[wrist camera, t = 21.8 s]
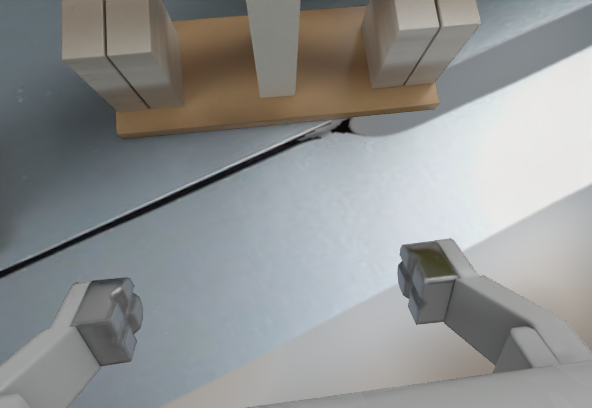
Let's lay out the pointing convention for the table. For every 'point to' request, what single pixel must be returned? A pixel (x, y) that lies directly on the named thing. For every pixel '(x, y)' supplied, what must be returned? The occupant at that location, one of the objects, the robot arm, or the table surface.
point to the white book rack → (242, 71)
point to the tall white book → (275, 44)
